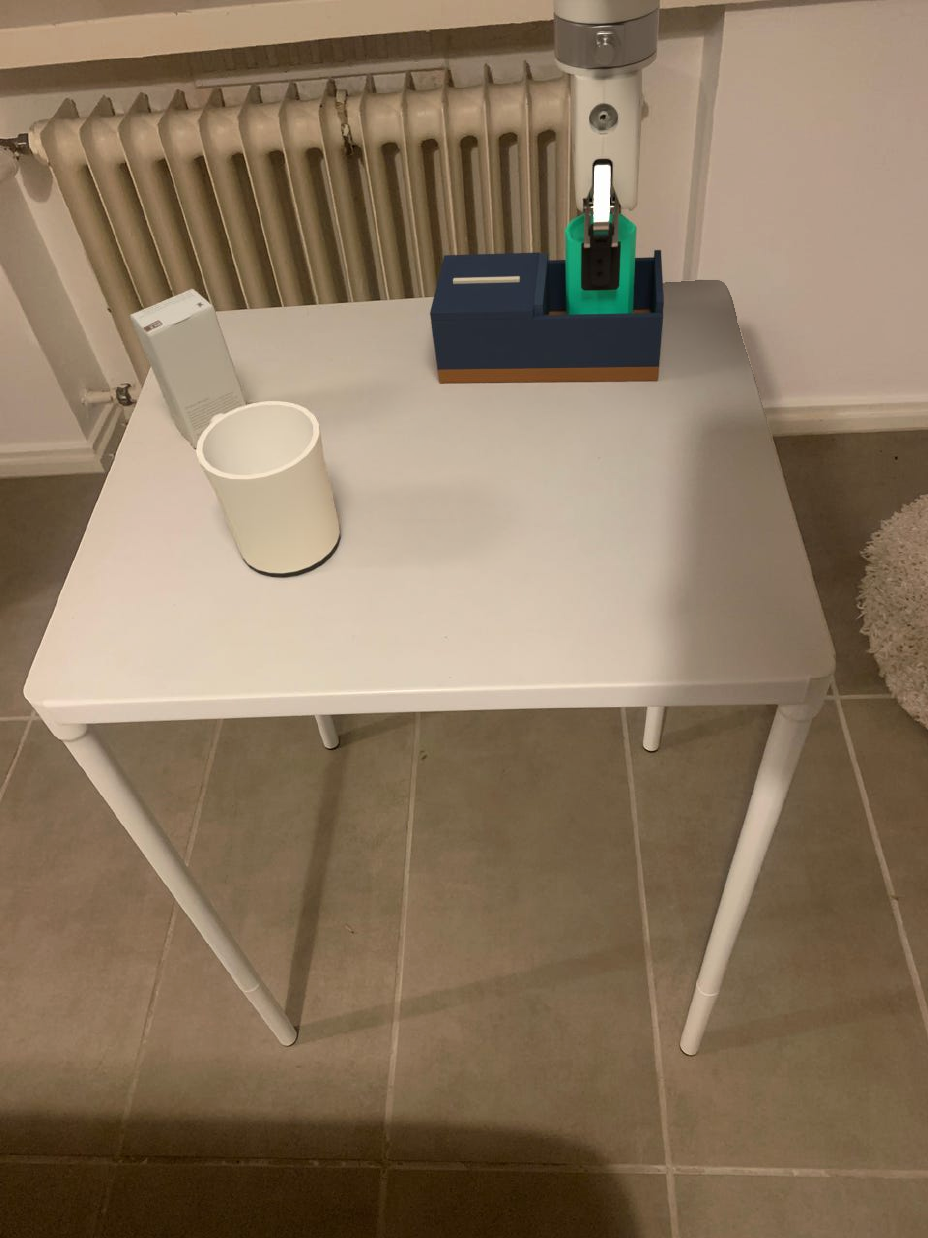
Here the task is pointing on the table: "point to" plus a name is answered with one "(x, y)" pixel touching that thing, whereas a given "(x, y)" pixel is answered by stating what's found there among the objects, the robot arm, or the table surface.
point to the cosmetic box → (189, 361)
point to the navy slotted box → (539, 323)
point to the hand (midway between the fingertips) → (600, 266)
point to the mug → (272, 485)
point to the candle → (599, 299)
